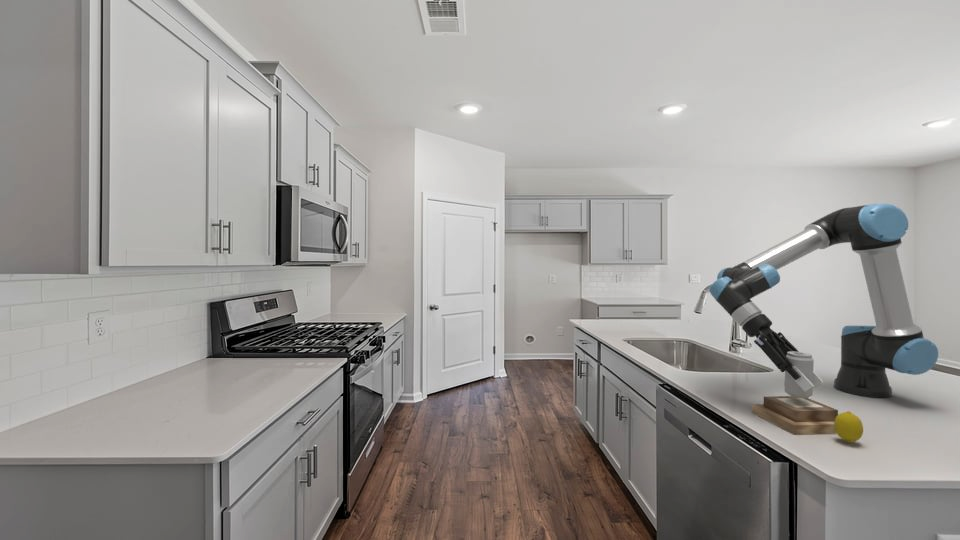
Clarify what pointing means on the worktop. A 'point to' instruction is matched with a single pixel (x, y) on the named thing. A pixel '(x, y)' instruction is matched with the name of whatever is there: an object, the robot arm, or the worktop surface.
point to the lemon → (848, 426)
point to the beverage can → (803, 365)
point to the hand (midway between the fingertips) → (814, 386)
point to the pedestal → (797, 414)
